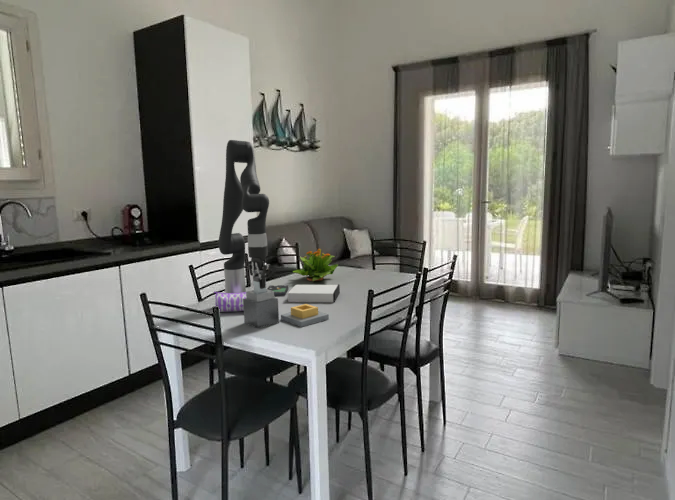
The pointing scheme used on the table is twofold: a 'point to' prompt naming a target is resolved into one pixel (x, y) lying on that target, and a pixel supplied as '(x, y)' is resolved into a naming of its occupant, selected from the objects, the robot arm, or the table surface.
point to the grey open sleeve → (260, 309)
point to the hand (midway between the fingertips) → (259, 287)
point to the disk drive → (279, 289)
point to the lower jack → (304, 315)
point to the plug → (258, 285)
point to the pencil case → (230, 301)
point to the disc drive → (314, 293)
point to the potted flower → (316, 266)
